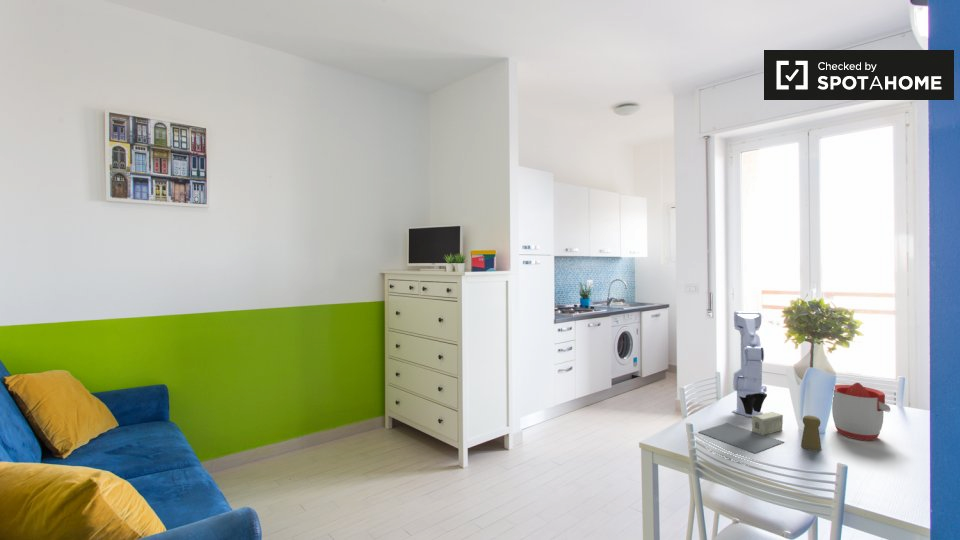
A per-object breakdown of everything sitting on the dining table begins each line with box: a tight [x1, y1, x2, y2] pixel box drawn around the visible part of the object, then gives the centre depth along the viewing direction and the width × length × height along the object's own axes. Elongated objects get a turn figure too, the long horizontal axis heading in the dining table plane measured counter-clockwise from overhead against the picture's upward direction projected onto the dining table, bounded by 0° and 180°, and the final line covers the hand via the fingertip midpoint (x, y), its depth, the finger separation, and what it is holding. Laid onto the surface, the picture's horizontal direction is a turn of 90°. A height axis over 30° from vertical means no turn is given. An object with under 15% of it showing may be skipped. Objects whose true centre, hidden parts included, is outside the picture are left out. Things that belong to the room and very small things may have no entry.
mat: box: [698, 422, 785, 455], centre depth 177 cm, size 18×22×1 cm
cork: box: [800, 415, 822, 451], centre depth 167 cm, size 6×6×11 cm
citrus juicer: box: [831, 382, 891, 441], centre depth 176 cm, size 16×17×20 cm
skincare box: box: [751, 411, 784, 435], centre depth 182 cm, size 6×4×12 cm
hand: (752, 412), depth 180 cm, fingers open, 5 cm apart
